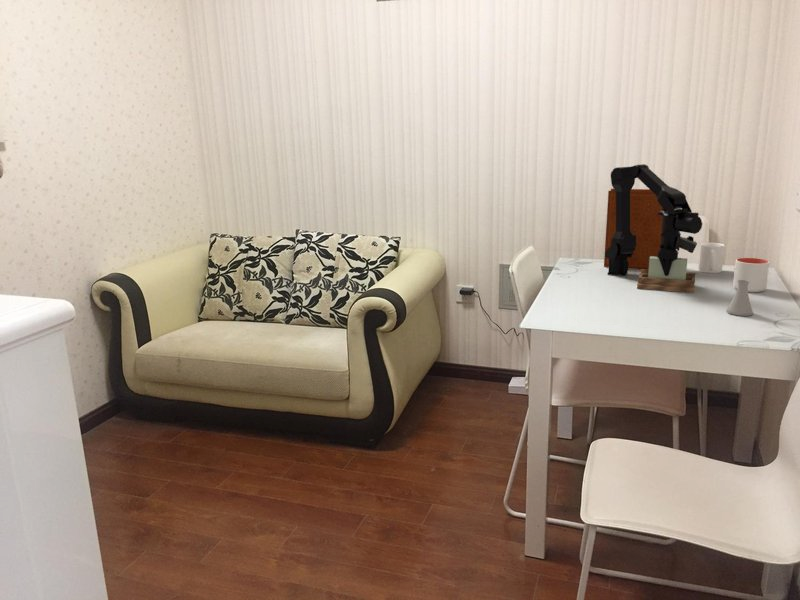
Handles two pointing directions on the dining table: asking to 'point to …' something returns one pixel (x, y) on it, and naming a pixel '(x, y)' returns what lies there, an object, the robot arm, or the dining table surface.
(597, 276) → the dining table surface
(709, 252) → the mug
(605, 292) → the dining table surface
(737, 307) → the flask
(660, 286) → the box
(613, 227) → the book
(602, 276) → the dining table surface
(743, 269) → the cup
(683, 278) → the pale green box
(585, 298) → the dining table surface
